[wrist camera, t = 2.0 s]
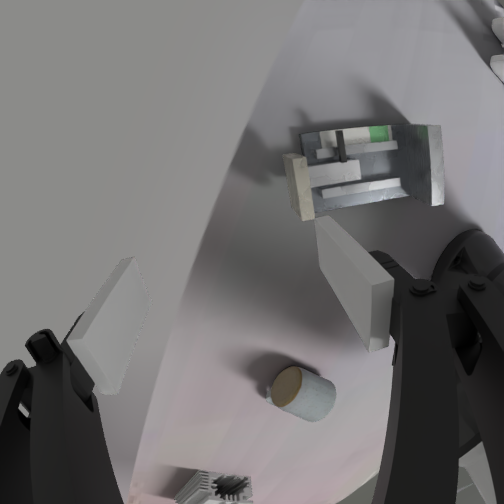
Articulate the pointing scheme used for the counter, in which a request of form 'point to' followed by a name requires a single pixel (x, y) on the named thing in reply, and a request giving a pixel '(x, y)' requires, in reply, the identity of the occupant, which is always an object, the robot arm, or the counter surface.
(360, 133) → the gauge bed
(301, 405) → the grey tan cylinder
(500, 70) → the cable organizer
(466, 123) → the counter surface
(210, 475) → the aluminum extrusion profile
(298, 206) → the sliding gauge carriage
